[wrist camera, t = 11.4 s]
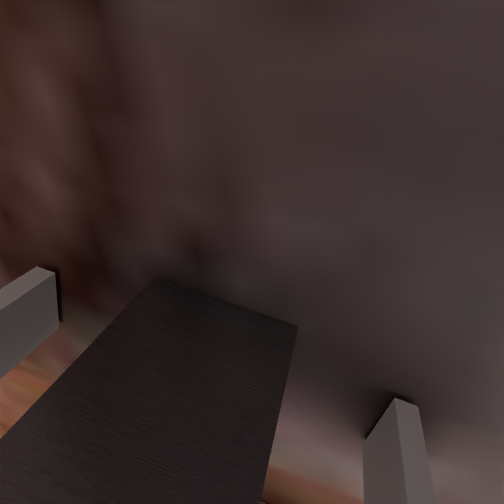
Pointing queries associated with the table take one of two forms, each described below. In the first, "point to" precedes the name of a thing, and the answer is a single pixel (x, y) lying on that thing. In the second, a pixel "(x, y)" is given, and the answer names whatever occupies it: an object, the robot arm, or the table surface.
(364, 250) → the table surface
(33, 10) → the table surface
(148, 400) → the block
